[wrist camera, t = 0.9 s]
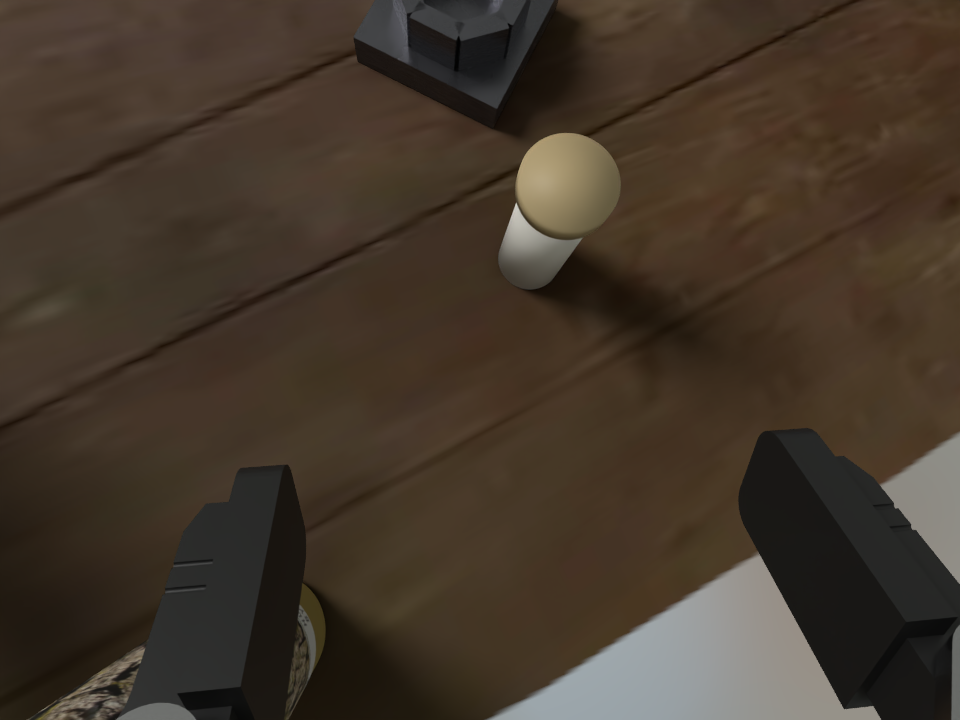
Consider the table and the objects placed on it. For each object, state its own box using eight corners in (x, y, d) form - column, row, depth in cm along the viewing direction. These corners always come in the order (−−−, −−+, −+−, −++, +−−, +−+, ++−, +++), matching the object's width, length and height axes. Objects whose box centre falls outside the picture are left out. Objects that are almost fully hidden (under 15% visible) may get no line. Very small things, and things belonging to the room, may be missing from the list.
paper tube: (192, 594, 37) (-280, 878, 12) (307, 552, 38) (83, 737, 13) (227, 712, 36) (-202, 1267, 11) (343, 666, 37) (177, 1091, 12)
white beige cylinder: (479, 275, 41) (501, 202, 29) (511, 211, 42) (545, 115, 30) (546, 308, 41) (595, 249, 29) (577, 244, 42) (636, 161, 30)
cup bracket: (357, 61, 42) (347, 3, 37) (425, -56, 44) (425, -128, 39) (492, 128, 43) (502, 81, 37) (555, 9, 44) (573, -53, 39)
